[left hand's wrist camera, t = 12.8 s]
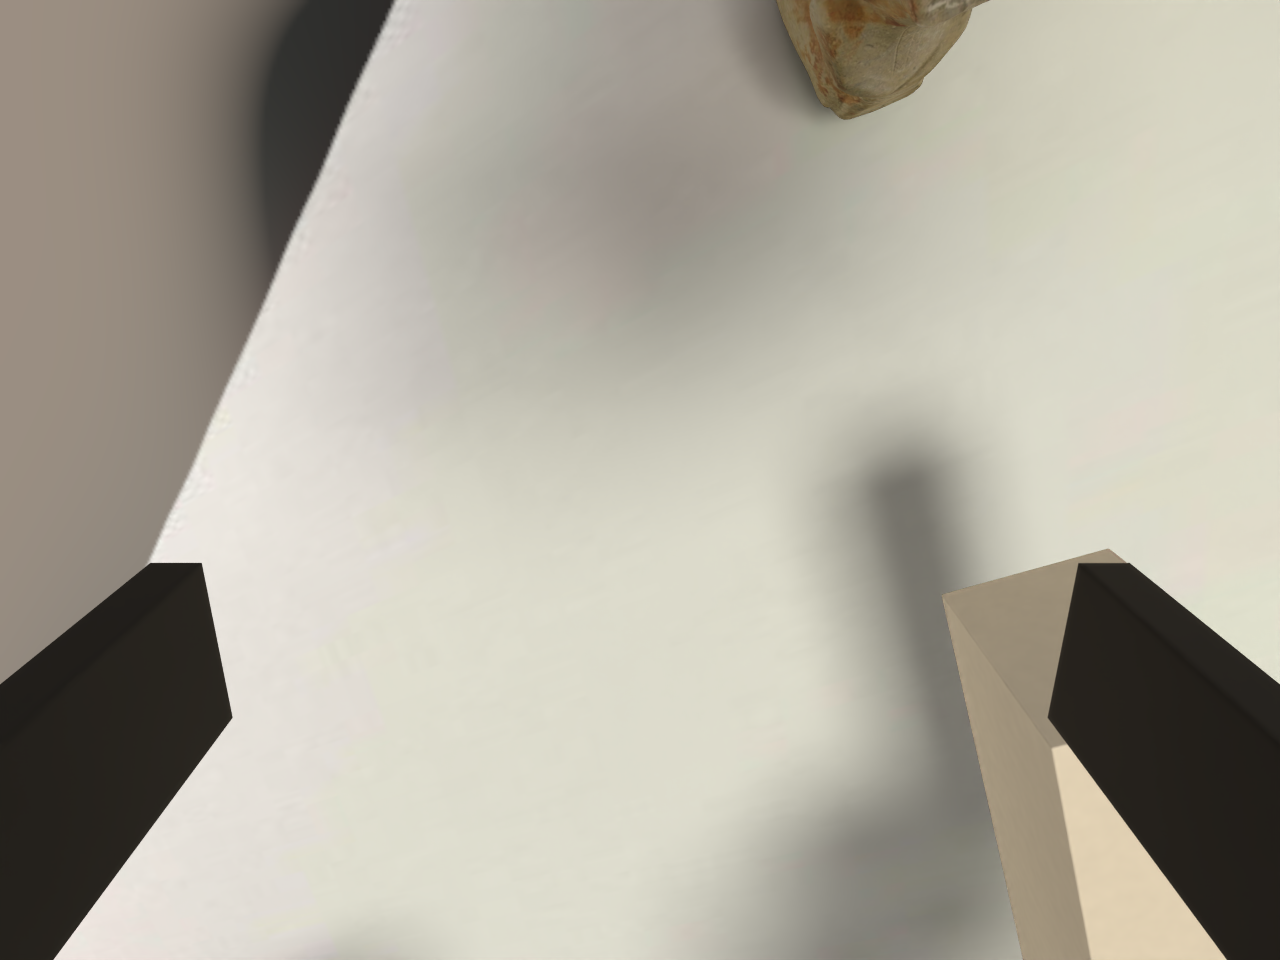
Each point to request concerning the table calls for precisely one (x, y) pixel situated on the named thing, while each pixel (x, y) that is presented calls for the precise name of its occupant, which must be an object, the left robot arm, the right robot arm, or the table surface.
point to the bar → (1055, 787)
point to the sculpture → (871, 46)
